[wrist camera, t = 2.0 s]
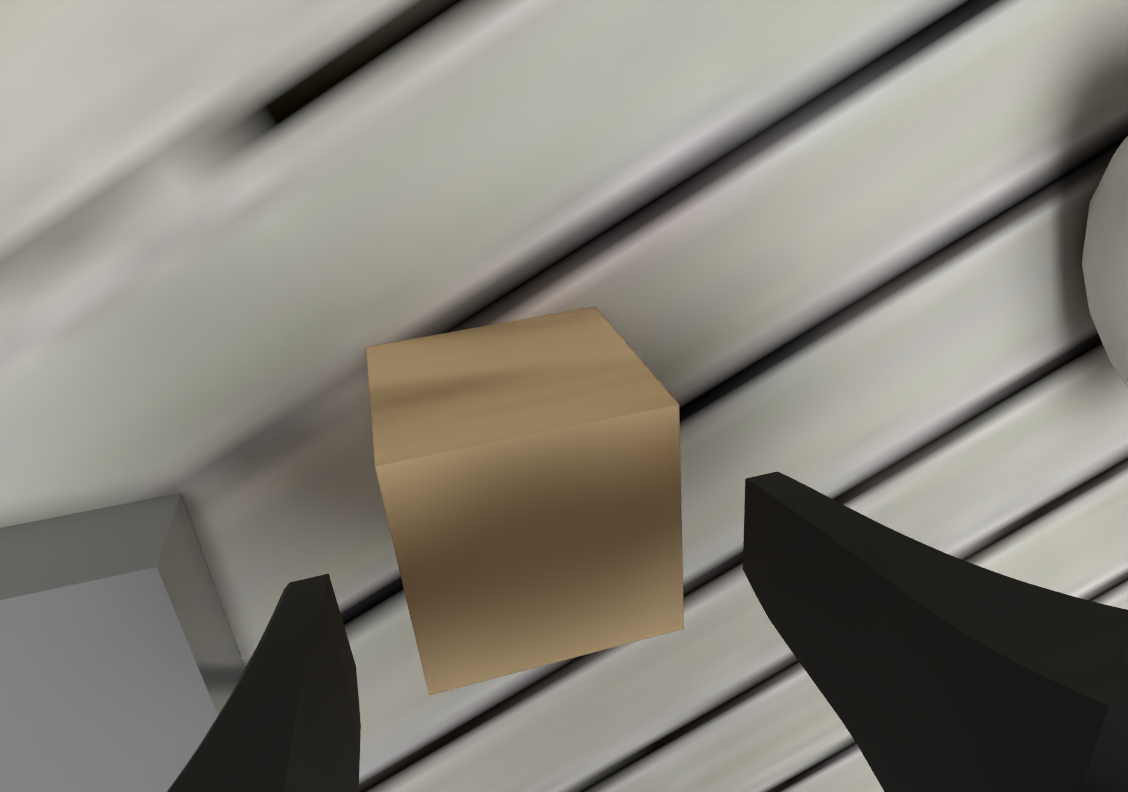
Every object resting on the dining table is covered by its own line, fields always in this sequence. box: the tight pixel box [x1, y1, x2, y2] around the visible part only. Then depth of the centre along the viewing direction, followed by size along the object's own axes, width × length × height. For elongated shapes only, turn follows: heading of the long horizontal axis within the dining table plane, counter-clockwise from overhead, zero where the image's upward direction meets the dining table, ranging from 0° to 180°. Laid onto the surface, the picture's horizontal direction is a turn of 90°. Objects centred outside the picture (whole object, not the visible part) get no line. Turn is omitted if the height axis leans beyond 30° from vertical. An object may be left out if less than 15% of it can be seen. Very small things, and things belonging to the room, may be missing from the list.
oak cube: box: [366, 307, 684, 695], centre depth 16 cm, size 5×5×5 cm
